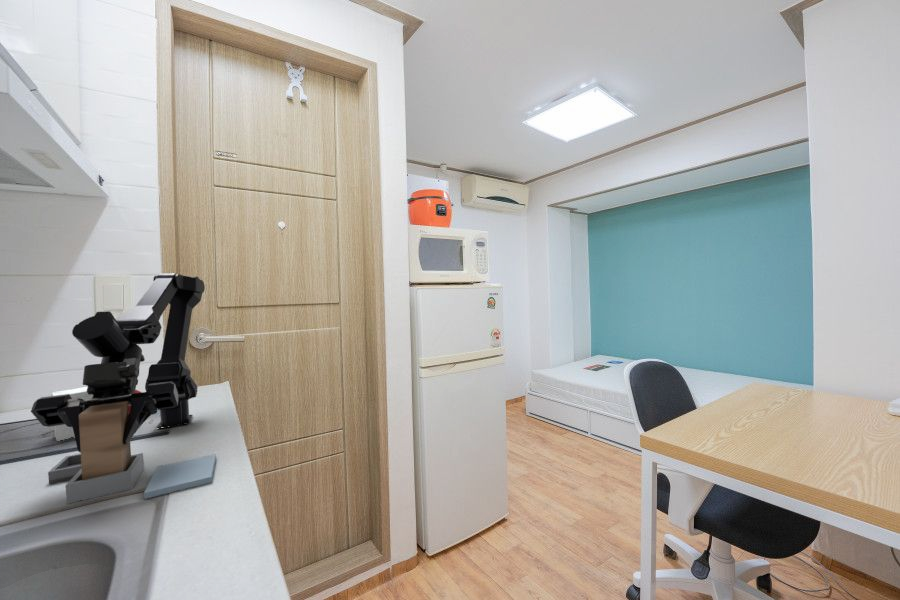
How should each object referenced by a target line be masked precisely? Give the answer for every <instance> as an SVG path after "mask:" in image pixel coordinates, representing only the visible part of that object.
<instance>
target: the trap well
mask: <svg viewBox="0 0 900 600" xmlns="http://www.w3.org/2000/svg"><path fill="white" fill-rule="evenodd" d="M81 468H82V467H81V453H77V454H71V455H66V456H65V457H63V458H62V459H61V460H60V461H58V463H57V464H55V465H54V467H52V468H51V469H50V470H49V471H48V472H47V473H48V476H47V477H48V484H54V483H58V482H62V481H67V480H71V479H72V478H73V477H74V476H75V475H76V474H77V473H78V472H79V471H80V469H81Z"/></svg>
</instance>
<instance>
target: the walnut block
mask: <svg viewBox="0 0 900 600" xmlns="http://www.w3.org/2000/svg"><path fill="white" fill-rule="evenodd" d="M128 417H129V408H128V401H126V402H118V403H110V404H103V405H95V406H90V407H89V408H87V409H86V410H84V411H83V412H82V413H80V414H79V431H80V449H81V453H80V454H81V467H82V480H86V479H90V478H95V477H100V476H104V475H109V474H114V473H118V472H123V471H127V470H128V468H129V467H130V465H131V455H132V451H131V440H130V441H129V442H128V443H127V444H125V445H124V444H123V435H124V431H125V427H126V424H127V420H128Z"/></svg>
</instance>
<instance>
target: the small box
mask: <svg viewBox="0 0 900 600" xmlns="http://www.w3.org/2000/svg"><path fill="white" fill-rule="evenodd" d="M87 388H88V386H84V387H83V386H82V387H78V388H72V389H71V388H70V389H67V390H66V389H65V390H61V391H54V392H51V396H57V395H65V394H69V395H70V396H71V398H72V399H76V398H80V399H83V400H85V399H92V396H93V394H91V395H89V394H88V393H87ZM53 429H54V435H55V440H56V442H57V441H59V442H61V441H60V440H63V441H65V440H64V439H67V440H69V439H68V438H71V437H75V436H74V432H73V428H72V427H67V426H66V424H64V425H57V426H53ZM71 439H72V438H71Z"/></svg>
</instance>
